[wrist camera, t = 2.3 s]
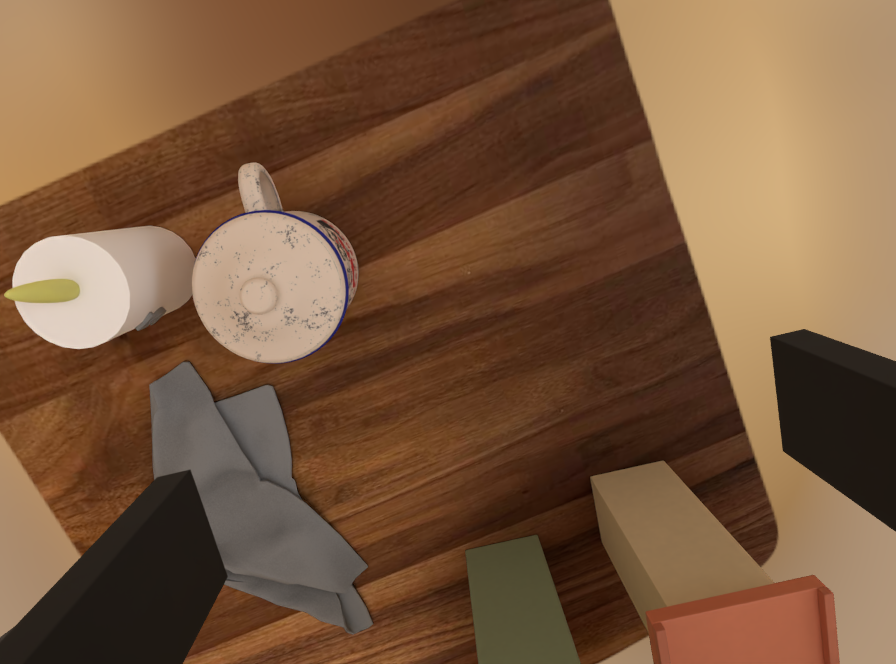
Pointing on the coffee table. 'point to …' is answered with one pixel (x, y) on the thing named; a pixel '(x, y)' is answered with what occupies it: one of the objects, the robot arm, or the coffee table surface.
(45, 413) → the coffee table surface
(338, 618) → the cloth
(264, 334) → the teacup with lid
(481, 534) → the coffee table surface
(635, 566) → the red-capped tan pillar
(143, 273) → the candle
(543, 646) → the mint green pillar
